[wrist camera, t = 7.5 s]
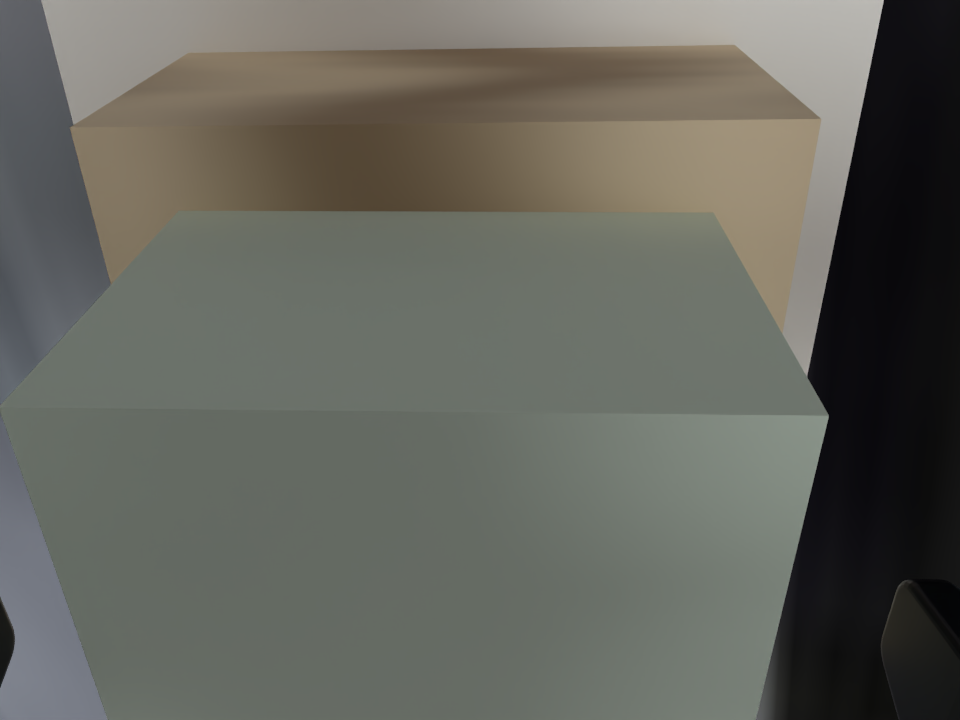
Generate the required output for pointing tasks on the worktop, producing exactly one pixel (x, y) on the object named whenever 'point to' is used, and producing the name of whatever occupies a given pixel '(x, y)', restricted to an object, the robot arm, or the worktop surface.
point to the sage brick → (424, 469)
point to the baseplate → (513, 24)
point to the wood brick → (459, 141)
